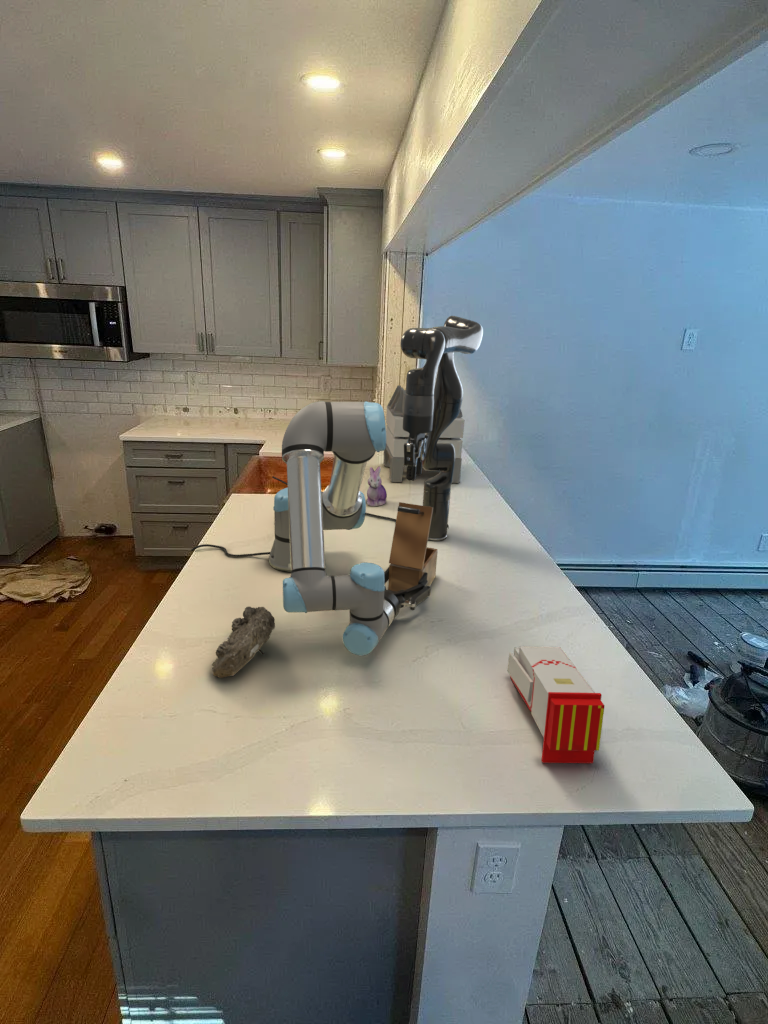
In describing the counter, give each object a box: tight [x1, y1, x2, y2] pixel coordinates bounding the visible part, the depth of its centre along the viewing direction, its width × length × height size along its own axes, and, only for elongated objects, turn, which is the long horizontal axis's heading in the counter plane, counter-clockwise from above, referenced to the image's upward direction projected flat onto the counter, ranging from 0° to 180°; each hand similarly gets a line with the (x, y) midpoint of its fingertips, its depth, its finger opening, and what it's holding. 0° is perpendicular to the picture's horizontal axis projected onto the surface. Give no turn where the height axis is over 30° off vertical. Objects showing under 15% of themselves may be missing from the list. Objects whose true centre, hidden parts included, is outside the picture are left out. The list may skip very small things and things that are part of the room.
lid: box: [388, 501, 433, 569], centre depth 150 cm, size 17×9×8 cm
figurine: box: [365, 466, 388, 507], centre depth 227 cm, size 9×10×15 cm
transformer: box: [383, 384, 465, 484], centre depth 268 cm, size 34×33×41 cm
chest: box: [387, 546, 438, 591], centre depth 162 cm, size 16×9×9 cm, turn 160°
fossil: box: [211, 606, 276, 679], centre depth 126 cm, size 22×10×15 cm
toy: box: [506, 645, 605, 764], centre depth 112 cm, size 12×13×30 cm
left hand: (408, 573), depth 157 cm, fingers closed on chest, 9 cm apart
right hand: (414, 476), depth 148 cm, fingers open, 4 cm apart
